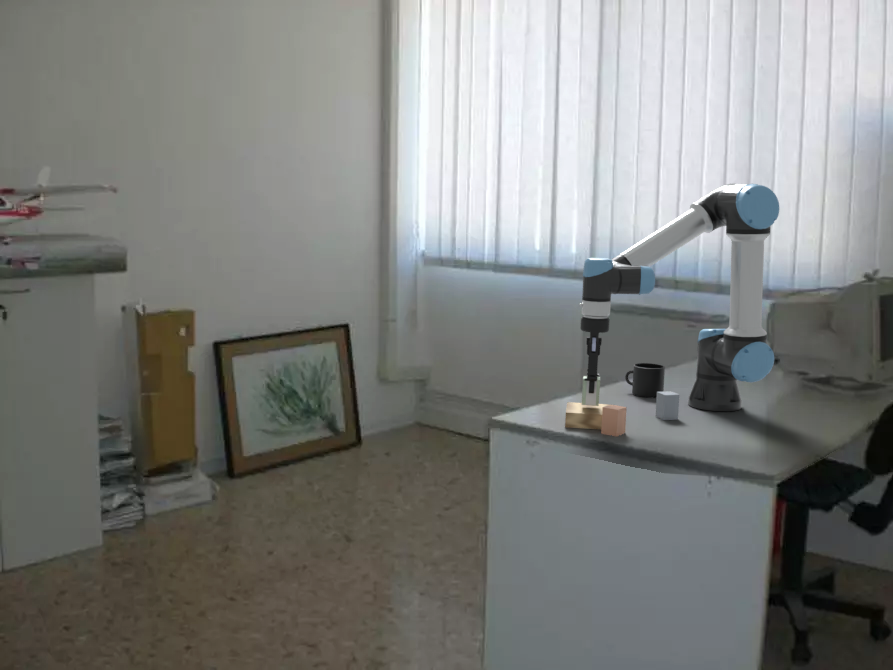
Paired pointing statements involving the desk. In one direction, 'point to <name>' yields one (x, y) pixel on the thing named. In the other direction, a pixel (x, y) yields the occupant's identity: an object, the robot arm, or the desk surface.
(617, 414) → the terracotta brick
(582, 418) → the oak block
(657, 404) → the slate brick
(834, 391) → the desk surface
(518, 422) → the desk surface
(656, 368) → the mug
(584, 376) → the sage brick
